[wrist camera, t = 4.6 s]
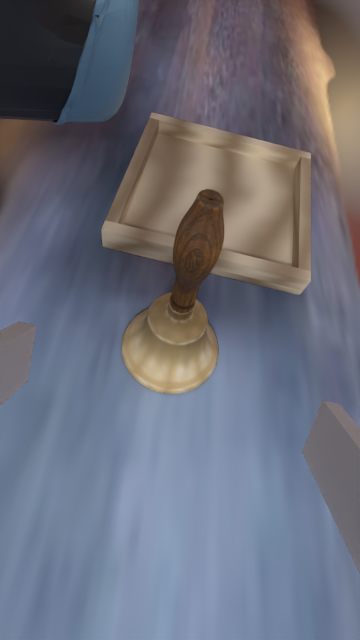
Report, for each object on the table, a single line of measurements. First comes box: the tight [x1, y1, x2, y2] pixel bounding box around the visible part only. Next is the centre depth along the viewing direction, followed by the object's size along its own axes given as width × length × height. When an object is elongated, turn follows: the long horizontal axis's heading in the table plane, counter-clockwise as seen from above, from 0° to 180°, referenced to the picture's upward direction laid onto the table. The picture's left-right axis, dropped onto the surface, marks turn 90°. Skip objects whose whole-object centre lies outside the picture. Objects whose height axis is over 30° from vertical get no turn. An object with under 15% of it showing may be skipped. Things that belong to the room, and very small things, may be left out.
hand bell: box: [121, 189, 224, 394], centre depth 23 cm, size 8×8×16 cm
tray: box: [101, 112, 311, 295], centre depth 38 cm, size 20×20×2 cm
